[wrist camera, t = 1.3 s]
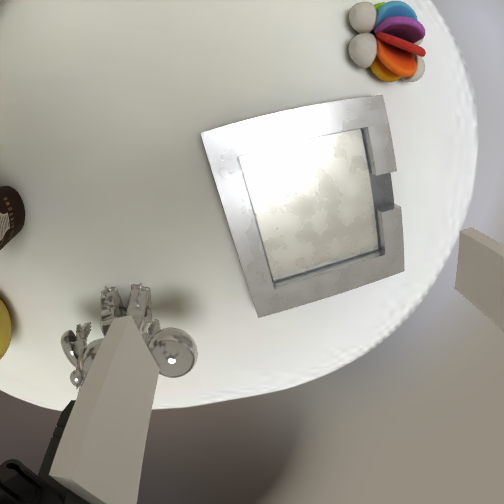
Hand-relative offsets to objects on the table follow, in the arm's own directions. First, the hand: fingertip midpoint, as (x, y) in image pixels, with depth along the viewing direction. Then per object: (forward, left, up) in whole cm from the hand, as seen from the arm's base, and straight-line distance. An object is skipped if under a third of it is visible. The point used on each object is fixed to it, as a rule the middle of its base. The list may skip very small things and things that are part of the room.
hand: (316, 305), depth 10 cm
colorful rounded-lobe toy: (-13, +18, -21) cm, 31 cm away
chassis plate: (+3, +6, -21) cm, 22 cm away
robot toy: (+9, -16, -21) cm, 28 cm away
